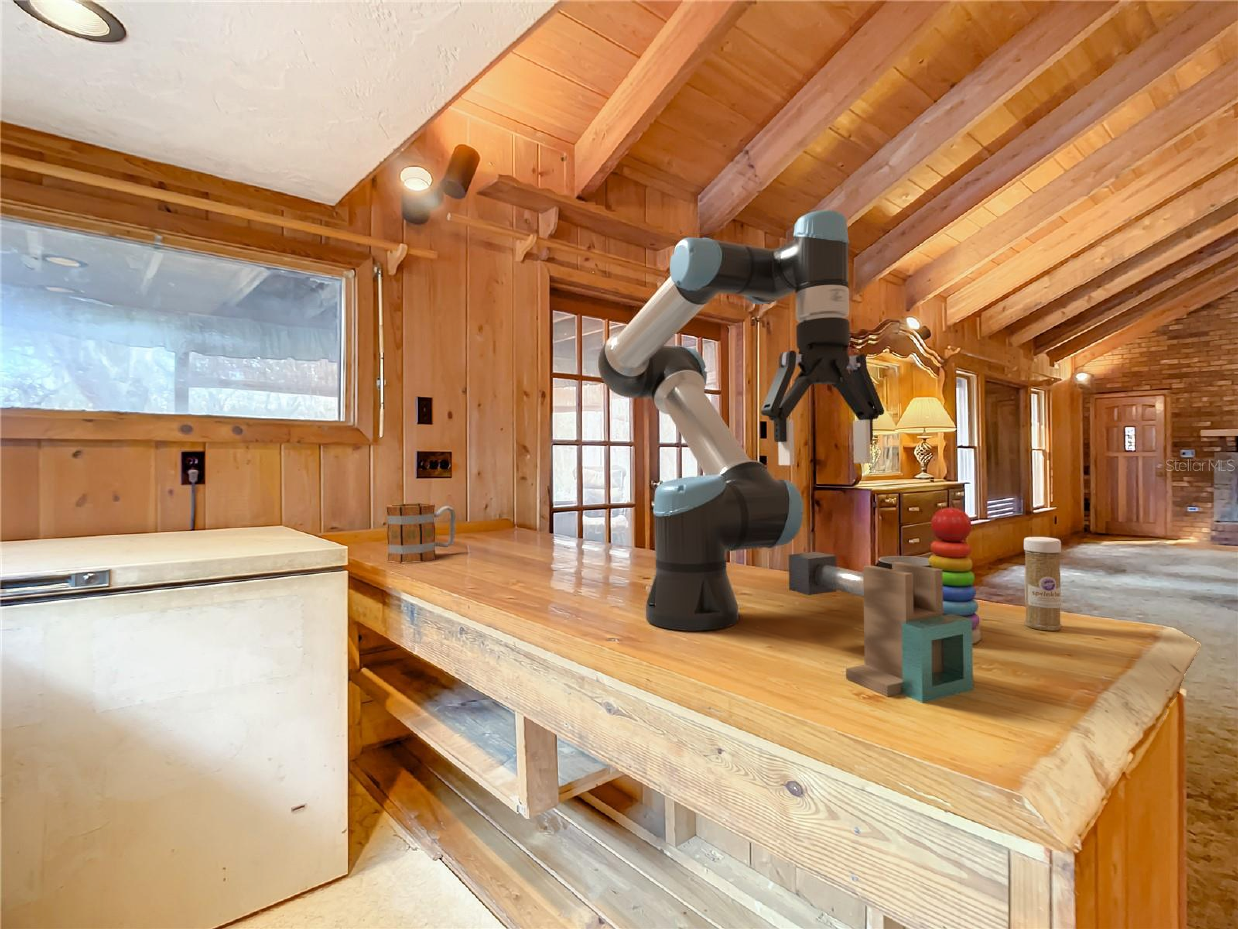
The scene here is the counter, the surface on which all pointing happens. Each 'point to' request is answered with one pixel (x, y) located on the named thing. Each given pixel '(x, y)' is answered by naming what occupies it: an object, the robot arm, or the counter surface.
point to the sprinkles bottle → (1042, 583)
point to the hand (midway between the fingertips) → (825, 464)
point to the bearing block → (895, 621)
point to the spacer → (919, 657)
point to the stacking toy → (955, 564)
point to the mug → (415, 531)
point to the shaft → (822, 575)
